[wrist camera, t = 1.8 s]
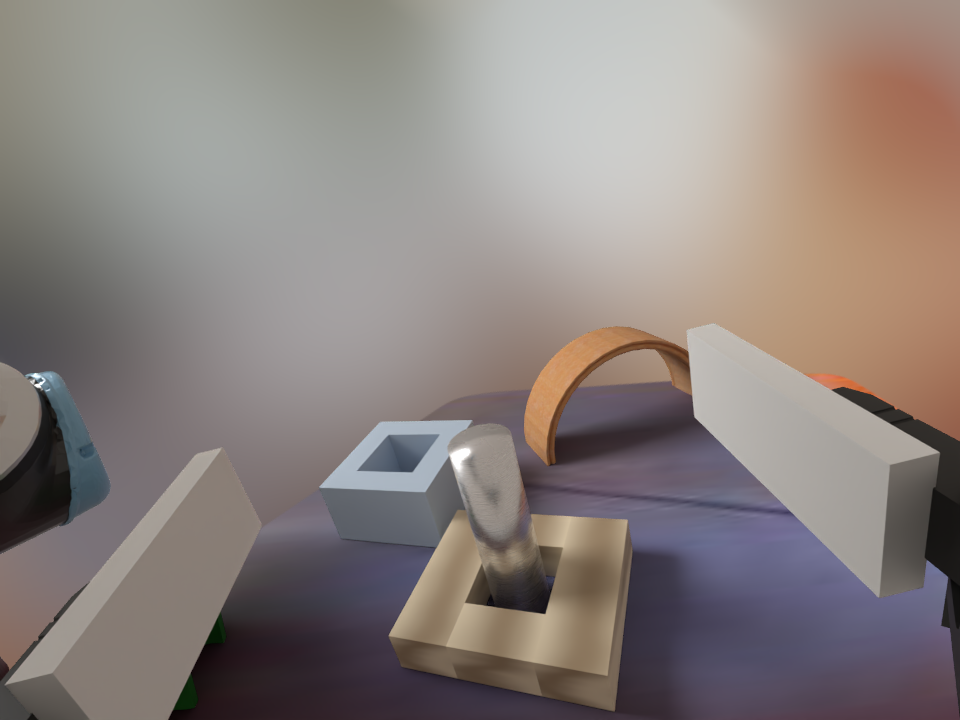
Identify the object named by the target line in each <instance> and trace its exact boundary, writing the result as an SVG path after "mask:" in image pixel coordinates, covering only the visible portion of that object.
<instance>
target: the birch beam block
mask: <svg viewBox="0 0 960 720" xmlns="http://www.w3.org/2000/svg"><path fill="white" fill-rule="evenodd" d="M531 518H532V522H533V526H534V530H535V534H536V538H537V542H538V546H539V550H540V554H541V558H542V562H543V566H544V571H545V575H546V576H553V577H555V581H554V584H553V588H552V592H551V596H550V599H549V603H548V607H547V611H546V614H540V613H533V612H525V611H518V610H511V609H504V608H497V607H490V606H486V605H487V602H488V600H489V597H490V594H491V591H490V588H489V585H488V581H487V578H486V575H485V572H484V568H483V565H482V562H481V558H480V555H479V552H478V549H477V545H476V542H475V539H474V536H473V532H472V529H471V526H470V522H469V519H468V516H467V513H466V510H457V512H456V514H455V515H454V517H453V519H452V521H451V523H450V525H449V526H448V528H447V530H446V532H445V534H444V535H443V537H442V539H441V541H440V543H439V545H438V546H437V548H436V550H435V552H434V554H433V556H432V557H431V559H430V561H429V563H428V565H427V566H426V568H425V570H424V572H423V574H422V576H421V577H420V579H419V581H418V583H417V585H416V587H415V588H414V590H413V592H412V594H411V596H410V597H409V599H408V601H407V603H406V605H405V607H404V608H403V610H402V612H401V614H400V616H399V618H398V619H397V621H396V623H395V625H394V627H393V628H392V630H391V632H390V634H389V638H390V641H391V643H392V645H393V648H394V650H395V652H396V655H397V657H398V659H399V662H400V664H401V666H402V667H405V668H409V669H414V670H419V671H424V672H428V673H433V674H438V675H443V676H447V677H452V678H457V679H462V680H466V681H471V682H476V683H481V684H486V685H490V686H495V687H500V688H505V689H509V690H514V691H519V692H524V693H528V694H533V695H538V696H543V697H547V698H552V699H557V700H562V701H567V702H571V703H576V704H581V705H586V706H590V707H595V708H600V709H605V710H609V711H614V712H615V704H616V695H617V686H618V677H619V668H620V659H621V650H622V641H623V632H624V623H625V614H626V606H627V597H628V588H629V579H630V570H631V561H632V552H633V550H632V544H631V537H630V531H629V524H628V520H621V519H604V518H587V517H570V516H554V515H537V514H531Z"/></svg>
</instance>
